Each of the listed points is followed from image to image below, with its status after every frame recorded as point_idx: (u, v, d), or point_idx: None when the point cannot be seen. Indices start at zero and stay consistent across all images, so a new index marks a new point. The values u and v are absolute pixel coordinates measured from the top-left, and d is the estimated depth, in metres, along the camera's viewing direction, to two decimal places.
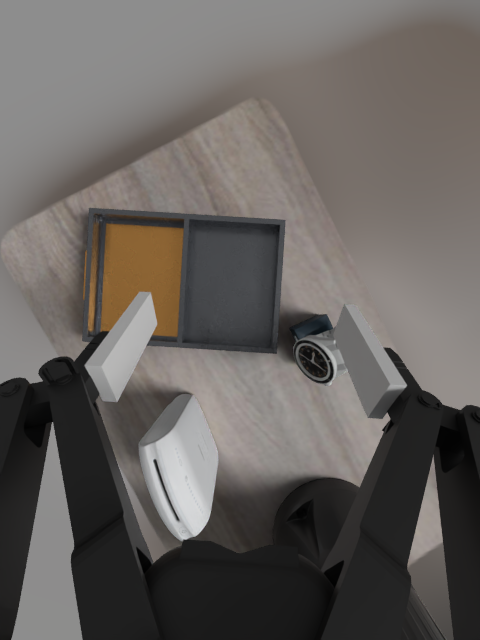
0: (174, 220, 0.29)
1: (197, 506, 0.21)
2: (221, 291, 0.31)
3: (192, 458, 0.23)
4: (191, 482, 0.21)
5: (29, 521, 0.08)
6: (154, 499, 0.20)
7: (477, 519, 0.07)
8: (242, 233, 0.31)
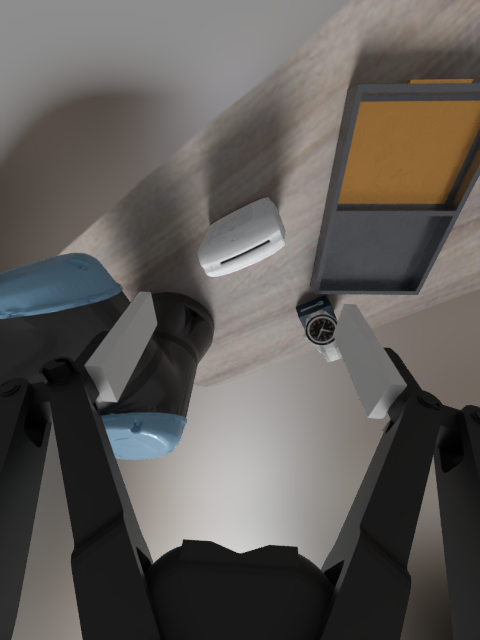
0: (457, 197, 0.30)
1: (228, 273, 0.27)
2: (370, 243, 0.35)
3: None
4: (246, 266, 0.27)
5: (29, 521, 0.08)
6: (237, 244, 0.24)
7: (477, 519, 0.07)
8: (416, 258, 0.36)
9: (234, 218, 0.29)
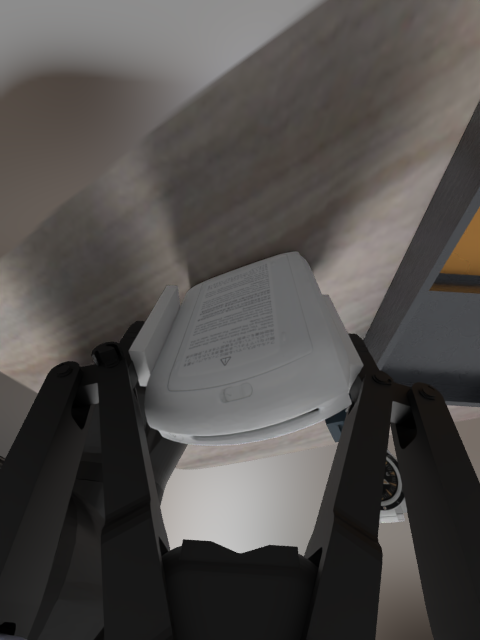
0: None
1: None
2: (463, 332, 0.20)
3: None
4: None
5: (65, 499, 0.09)
6: (236, 415, 0.09)
7: (433, 490, 0.08)
8: None
9: (232, 301, 0.14)
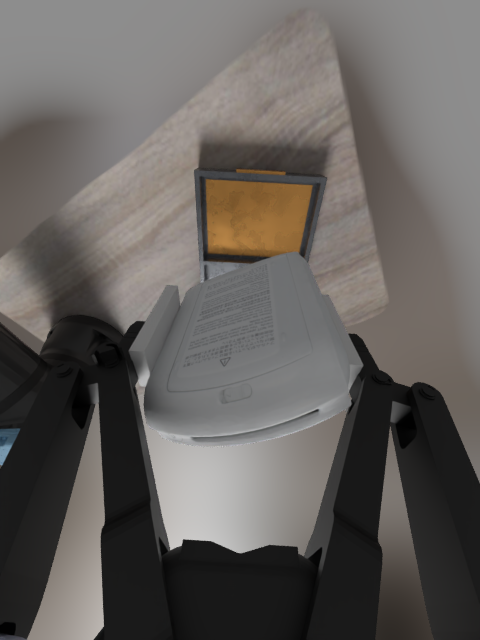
0: (303, 255, 0.36)
1: None
2: None
3: None
4: None
5: (65, 499, 0.09)
6: (236, 416, 0.09)
7: (434, 490, 0.08)
8: None
9: (232, 301, 0.14)
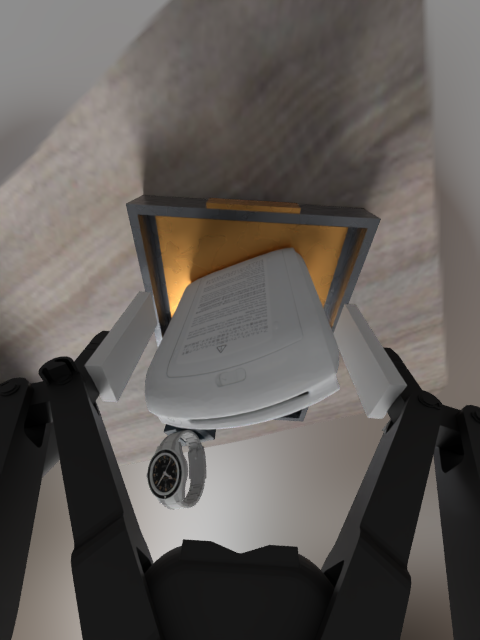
0: None
1: None
2: None
3: None
4: None
5: (29, 521, 0.08)
6: (231, 398, 0.10)
7: (477, 519, 0.07)
8: None
9: (229, 294, 0.15)
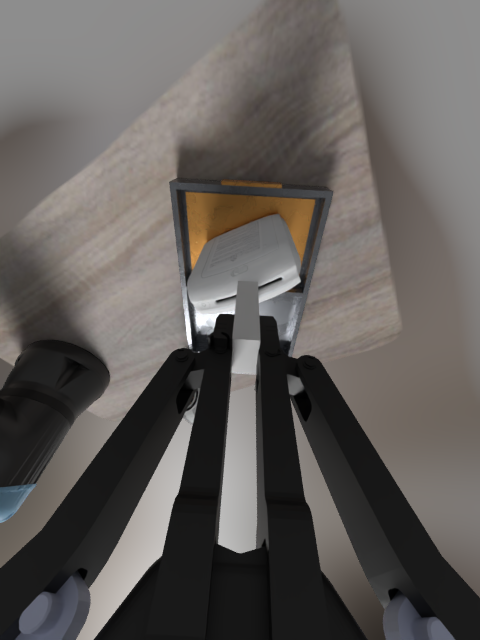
0: (304, 280, 0.30)
1: None
2: None
3: None
4: None
5: (150, 474, 0.09)
6: None
7: (336, 454, 0.09)
8: (286, 326, 0.36)
9: (236, 240, 0.23)
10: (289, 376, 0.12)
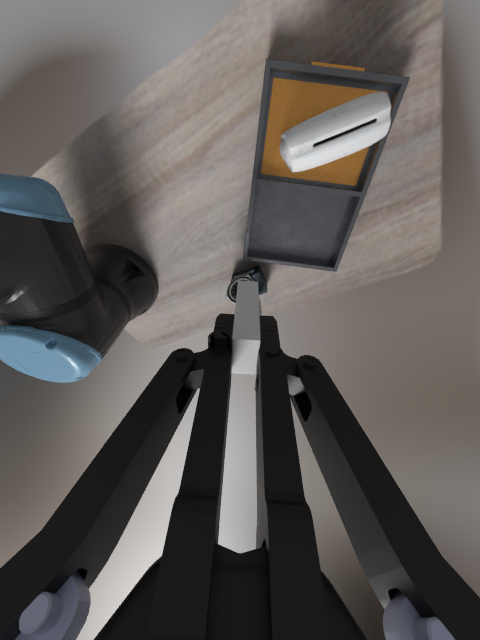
0: (364, 180, 0.33)
1: (315, 164, 0.24)
2: (293, 217, 0.38)
3: None
4: (337, 158, 0.24)
5: (150, 474, 0.09)
6: (341, 119, 0.21)
7: (336, 454, 0.09)
8: (336, 237, 0.39)
9: None
10: (289, 376, 0.12)
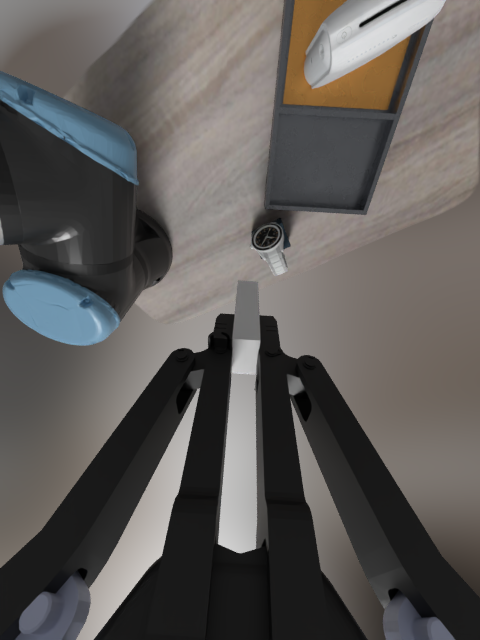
0: (398, 99, 0.30)
1: (360, 54, 0.21)
2: (318, 154, 0.35)
3: (390, 46, 0.22)
4: (384, 44, 0.21)
5: (150, 474, 0.09)
6: None
7: (336, 454, 0.09)
8: (365, 175, 0.36)
9: None
10: (289, 376, 0.12)
